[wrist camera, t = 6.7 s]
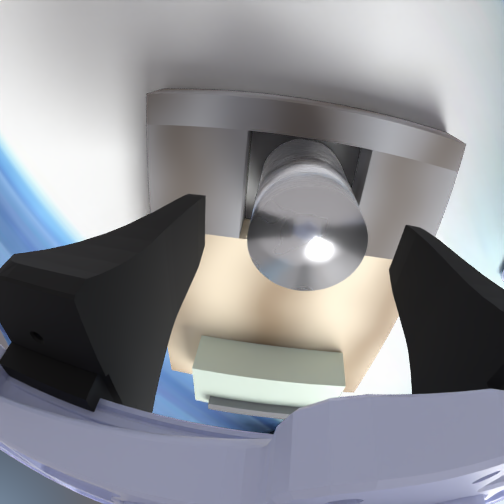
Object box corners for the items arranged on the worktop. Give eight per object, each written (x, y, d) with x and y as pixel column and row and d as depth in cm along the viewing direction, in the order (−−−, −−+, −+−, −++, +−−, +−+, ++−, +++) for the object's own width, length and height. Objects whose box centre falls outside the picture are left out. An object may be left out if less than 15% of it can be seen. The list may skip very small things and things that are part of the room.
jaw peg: (350, 147, 14) (383, 200, 9) (332, 219, 16) (348, 297, 11) (267, 133, 14) (254, 178, 9) (257, 207, 16) (241, 282, 12)
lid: (342, 352, 19) (346, 394, 16) (326, 385, 21) (327, 423, 19) (201, 335, 19) (189, 376, 17) (203, 370, 22) (193, 407, 19)
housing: (447, 133, 13) (466, 144, 11) (351, 371, 24) (353, 392, 22) (163, 88, 13) (146, 93, 12) (178, 350, 24) (171, 369, 22)
